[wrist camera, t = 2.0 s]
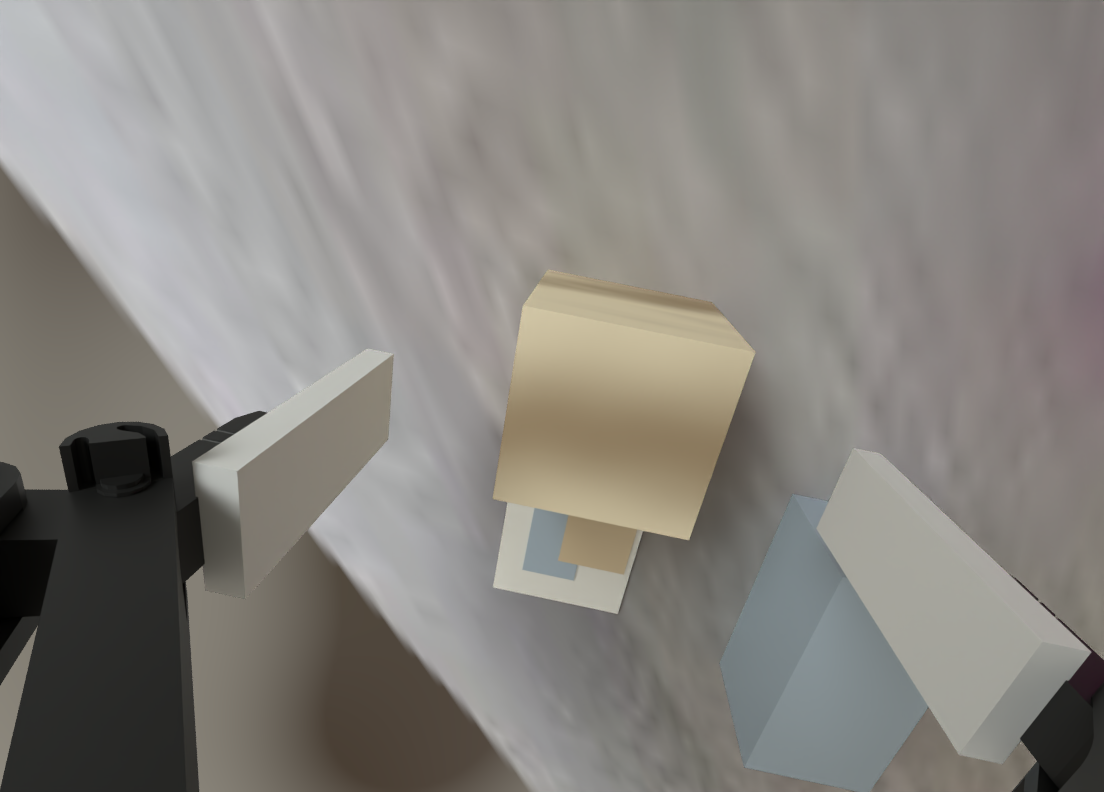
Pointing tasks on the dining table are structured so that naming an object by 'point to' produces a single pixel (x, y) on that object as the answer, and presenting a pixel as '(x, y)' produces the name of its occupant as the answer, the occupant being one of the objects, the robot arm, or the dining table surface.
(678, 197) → the dining table surface
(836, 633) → the blue brick
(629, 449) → the maple cube
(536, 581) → the tile
